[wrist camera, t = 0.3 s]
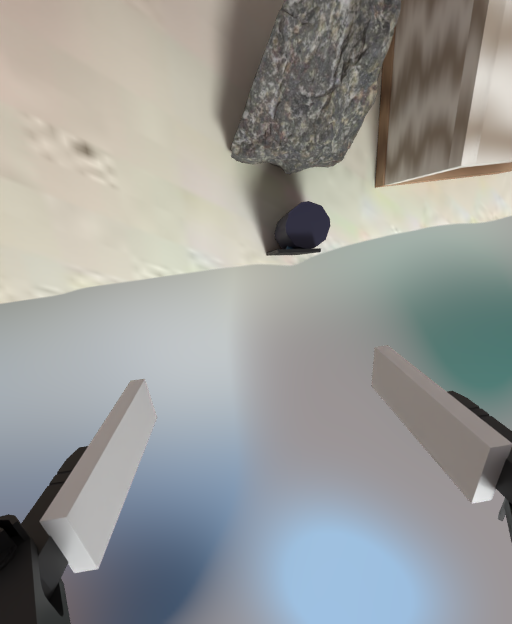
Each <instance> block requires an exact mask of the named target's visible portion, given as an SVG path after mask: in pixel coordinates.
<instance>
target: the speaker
mask: <svg viewBox="0 0 512 624" xmlns="http://www.w3.org/2000/svg"><path fill="white" fill-rule="evenodd" d="M329 228H330V218H329V217H328V215H327V213H326V212H325V210H324V209H323V207H322V206H321V205H318V204H315V203H312V202H309V201H307V202H301V203H300V204H299V205H297V206H296V207H295V208H294V209H292V210H291V211H290V212H289V213H288V214H286V215H285V216H284V217H283V218H282V219H281V220H280V221H279V222H278V223H277V227H276V230H275V233H274V234H275V240H276V241H277V242H278V244H279V245H280V247H281V248H282V249H278V250H274V251H271V252H268V253H267V255H300V254H308V253H316V252H321V248H320V249H312V248H315V247H316V246H318V245H319V244H320V243H322V242H323V241H324V240H326V237H327V234H328V231H329Z"/></svg>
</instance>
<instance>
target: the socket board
mask: <svg viewBox="0 0 512 624" xmlns="http://www.w3.org/2000/svg"><path fill="white" fill-rule="evenodd" d="M509 171H512V0H401V10H400V15H399V18H398V21H397V24H396V26H395V27H394V34H393V37H392V41H391V44H390V47H389V49H388V52H387V54H386V56H385V58H384V61H383V66H382V82H381V99H380V115H379V132H378V148H377V165H376V181H375V187H384V186H393V185H402V184H411V183H420V182H428V181H437V180H446V179H455V178H464V177H473V176H481V175H490V174H499V173H504V172H509Z"/></svg>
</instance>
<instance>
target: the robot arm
mask: <svg viewBox="0 0 512 624" xmlns="http://www.w3.org/2000/svg"><path fill="white" fill-rule="evenodd" d="M371 386H372V387H373V388H374V389H375V391H376V392H377V393H378V394H379V396H380V397H381V398H382V399H383V400H384V401H385V403H386V404H387V405H388V406H389V407H390V408H391V410H392V411H393V412H394V413H395V414H396V415H397V417H398V418H399V419H400V420H401V421H402V423H403V424H404V425H405V426H406V427H407V428H408V430H409V431H410V432H411V433H412V434H413V436H414V437H415V438H416V439H417V440H418V441H419V442H420V444H421V445H422V446H423V447H424V448H425V450H426V451H427V452H428V453H429V454H430V455H431V457H432V458H433V459H434V460H435V461H436V462H437V464H438V465H439V466H440V467H441V468H442V469H443V471H444V472H445V473H446V474H447V475H448V477H449V478H450V479H451V480H452V481H453V482H454V484H455V485H456V486H457V487H458V488H459V489H460V491H461V492H462V493H463V494H464V495H465V496H466V498H467V499H468V500H469V501H470V502H471V503H477V502H483V501H488V500H492V497H493V495H494V492H495V489H497V490H498V491H499V492H500V493H501V494H502V495H503V496H505V500H504V502H503V505H502V507H501V510H500V512H499V516H498V519H499V520H501V521H503V519H504V517H505V515H506V518H507V523H508V527H509V532H510V537H511V541H512V431H511V430H509V429H508V428H507V427H505V426H504V425H503V424H501V423H500V422H499V421H497V420H496V419H495V418H493V417H492V416H489V414H488V413H487V412H485V411H484V410H483V409H480V408H479V406H477V405H476V404H475V403H473V402H472V401H471V400H469V399H468V398H466V397H464V396H462V395H460V394H458V393H456V392H454V391H449V392H446V391H445V390H444V389H442V388H441V387H440V386H439V385H437V384H436V383H435V382H433V381H432V380H431V379H430V378H428V377H427V376H426V375H425V374H423V373H422V372H421V371H419V370H418V369H417V368H415V367H414V366H413V365H412V364H411V363H409V362H408V361H407V360H406V359H404V358H403V357H401V356H400V355H399V354H398V353H396V352H395V351H394V350H393V349H392V348H390V347H389V346H388V345H387V346H379V347H375V351H374V362H373V375H372V385H371ZM156 419H157V415H156V412H155V409H154V406H153V403H152V400H151V397H150V393H149V390H148V387H147V384H146V381H145V379H140V380H133V381H130V383H129V384H128V386H127V387H126V389H125V390H124V392H123V393H122V395H121V397H120V398H119V400H118V401H117V403H116V404H115V406H114V407H113V409H112V410H111V412H110V413H109V415H108V417H107V418H106V420H105V421H104V423H103V424H102V426H101V427H100V429H99V430H98V432H97V434H96V435H95V437H94V438H93V440H92V441H91V443H90V444H89V446H86V447H80V448H78V449H77V450H76V451H75V452H74V453H73V454H72V455H71V456H70V457H69V458H68V459H67V460H66V461H65V462H64V464H63V465H62V467H61V468H60V469H59V471H58V472H57V475H55V476H54V478H53V479H52V481H51V482H50V485H49V486H47V488H46V489H45V491H44V492H43V494H42V495H41V496H40V498H39V499H38V501H37V502H36V503H35V505H34V506H33V508H32V509H31V510H30V512H29V513H28V515H27V516H26V518H25V519H24V520H23V522H22V523H20V522H19V520H18V519H17V518H16V516H14V515H9V514H8V515H5V516H1V517H0V624H71V623H70V617H69V612H68V606H67V600H66V594H65V588H64V583H63V581H62V579H61V576H62V574H63V572H64V570H65V568H66V566H67V564H69V566H70V567H71V569H72V570H73V571H74V573H78V572H84V571H89V570H95V569H98V568H99V565H100V563H101V560H102V558H103V555H104V552H105V550H106V548H107V545H108V542H109V540H110V537H111V535H112V532H113V530H114V527H115V524H116V522H117V519H118V517H119V514H120V512H121V509H122V507H123V504H124V501H125V499H126V496H127V494H128V491H129V488H130V486H131V483H132V481H133V478H134V476H135V473H136V471H137V468H138V465H139V463H140V460H141V458H142V455H143V453H144V450H145V447H146V444H147V442H148V440H149V437H150V435H151V432H152V430H153V427H154V424H155V422H156Z"/></svg>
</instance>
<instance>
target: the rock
mask: <svg viewBox="0 0 512 624" xmlns="http://www.w3.org/2000/svg"><path fill="white" fill-rule="evenodd" d="M400 10H401V0H285V1H284V4H283V6H282V9H281V10H280V11H279V14H278V16H277V19H276V22H275V25H274V28H273V30H272V33H271V36H270V39H269V41H268V44H267V47H266V49H265V52H264V55H263V58H262V60H261V63H260V66H259V68H258V71H257V73H256V76H255V79H254V81H253V85H252V88H251V90H250V93H249V97H248V100H247V103H246V107H245V110H244V113H243V116H242V118H241V121H240V124H239V127H238V129H237V132H236V135H235V138H234V141H233V142H232V146H231V150H232V155H231V157H232V158H234V159H235V160H237V161H240V162H241V163H248V164H257V163H261V162H268V163H271V164H274V165H276V166H279V167H281V168H283V170H284V172H285V173H287V174H291V173H292V172H298V171H301V170H303V169H307V168H310V167H330V166H334V165H335V164H336V163H339V162H340V161H342V160H343V158H344V156H345V154H346V152H347V150H348V149H349V148H350V146H351V144H352V143H353V140H354V138H355V137H356V135H357V133H358V131H359V129H360V127H361V126H362V123H363V121H364V118H365V116H366V114H367V113H368V111H369V109H370V108H371V107H372V105H373V104H374V101H375V98H376V95H377V88H378V83H377V81H378V75H379V72H380V69H381V66H382V63H383V61H384V58H385V56H386V54H387V52H388V49H389V47H390V44H391V41H392V37H393V34H394V27H395V26H396V24H397V21H398V18H399V15H400Z"/></svg>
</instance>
